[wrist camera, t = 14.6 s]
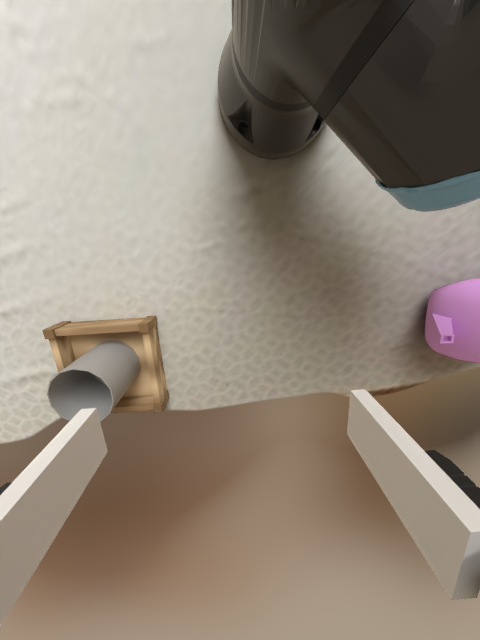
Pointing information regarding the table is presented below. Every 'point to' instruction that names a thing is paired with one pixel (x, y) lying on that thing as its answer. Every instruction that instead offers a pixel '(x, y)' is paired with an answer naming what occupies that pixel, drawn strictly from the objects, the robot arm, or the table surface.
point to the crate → (134, 332)
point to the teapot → (455, 320)
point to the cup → (94, 380)
